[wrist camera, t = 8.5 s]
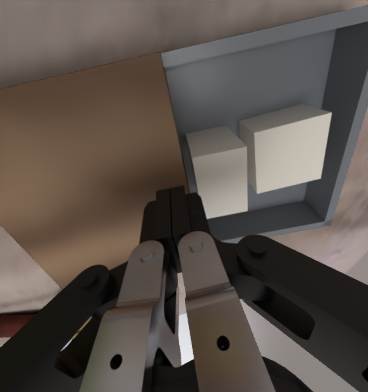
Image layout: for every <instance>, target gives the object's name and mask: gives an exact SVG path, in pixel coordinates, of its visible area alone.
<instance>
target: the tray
mask: <svg viewBox="0 0 368 392" xmlns="http://www.w3.org/2000/svg"><path fill="white" fill-rule="evenodd" d="M161 58H162V63H163V67H164V68H165V73H166V78H167V83H168V87H169V92H170V97H171V102H172V107H173V112H174V117H175V121H176V126H177V131H178V136H179V141H180V146H181V150H182V155H183V160H184V165H185V170H186V175H187V179H188V184H189V189H190V193H194V192H196V193H197V191H196V187H195V182H194V177H193V171H192V166H191V161H190V155H189V150H188V144H187V139H186V133H191V132H195V131H200V130H205V129H209V128H214V127H219V126H224V125H227V126H228V127H229V128H230V129H231V131H232V132H233V133H234V134H235V135H236V136H237V137H238V138H239V139H240V127H239V121H240V120H244V119H248V118H251V117H255V116H259V115H262V114H266V113H270V112H273V111H277V110H281V109H285V108H288V107H292V106H296V105H299V104H305V105H308V106H312V107H315V108H318V109H322V110H325V111H328V112H332V115H331V121H330V127H329V133H328V138H327V144H326V150H325V156H324V162H323V168H322V174H321V179H317V180H313V181H309V182H304V183H300V184H296V185H292V186H288V187H284V188H279V189H275V190H271V191H267V192H263V193H259V194H257V193H256V192H255V190H254V189H253V187H252V186H251V185H250V183H249V182H248V180H247V196H248V211H245V212H240V213H235V214H230V215H224V216H219V217H214V218H209V219H207V221H208V225H209V229H210V232H211V234H212V235H213V237H215V238H216V239H217V240H219V241H222V242H226V243H238V242H239V241H240V240H241V239H242V238H244V237H245V236H248V235H263V236H266V237H271V236H276V235H282V234H287V233H293V232H298V231H303V230H309V229H314V228H319V227H325V226H330V225H331V222H332V219H333V216H334V213H335V209H336V206H337V203H338V200H339V197H340V193H341V190H342V187H343V184H344V180H345V177H346V174H347V171H348V168H349V164H350V161H351V158H352V155H353V151H354V148H355V145H356V142H357V138H358V135H359V132H360V129H361V126H362V122H363V119H364V116H365V113H366V109H367V106H368V5H366V6H362V7H357V8H353V9H349V10H344V11H340V12H336V13H332V14H327V15H323V16H319V17H314V18H310V19H306V20H302V21H297V22H293V23H289V24H284V25H280V26H276V27H271V28H267V29H263V30H259V31H254V32H250V33H246V34H241V35H237V36H233V37H229V38H224V39H220V40H216V41H211V42H207V43H203V44H199V45H194V46H190V47H186V48H181V49H177V50H173V51H169V52H164V53H161ZM240 140H241V139H240Z"/></svg>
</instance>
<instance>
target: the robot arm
mask: <svg viewBox="0 0 368 392" xmlns="http://www.w3.org/2000/svg"><path fill="white" fill-rule="evenodd" d="M180 272H182V274H183V280H184V286H185V292H186V298H185V304H186V311H187V317H188V324H189V330H190V336H191V342H192V348H193V355H194V359H193V360H191V361H189V362H187V363H186V364H184V365H182V366H181V352H180V346H179V338H178V324H179V318H178V317H179V287H178V277H177V273H180ZM239 299H242V300H243V301H244V302H245V303H246V304H247V305H248V306H250V307H251V308H252V309H253V310H255V311H256V312H257V313H259V314H260V315H261V316H262V317H264V318H265V319H267V320H268V321H269V322H270V323H271V324H273V325H274V326H276V327H277V328H278V329H279V330H281V331H282V332H283V333H284V334H286V335H287V336H288V337H290V338H291V339H292V340H293V341H295V342H296V343H297V344H299V345H300V346H301V347H302V348H304V349H305V350H306V351H308V352H309V353H310V354H311V355H313V356H314V357H315V358H317V359H318V360H319V361H321V362H322V363H323V364H324V365H326V366H327V367H328V368H330V369H331V370H332V371H333V372H335V373H336V374H337V375H338V376H340V377H341V378H342V379H344V380H345V381H346V382H347V383H349V384H350V385H351V386H353V387H354V388H355V389H356V390H358V391H359V392H368V285H366V284H364V283H362V282H360V281H358V280H356V279H354V278H352V277H349V276H347V275H345V274H343V273H341V272H339V271H337V270H335V269H333V268H331V267H329V266H327V265H325V264H322V263H320V262H318V261H316V260H314V259H312V258H310V257H308V256H306V255H304V254H302V253H299V252H297V251H295V250H293V249H291V248H289V247H287V246H285V245H283V244H281V243H279V242H276V241H274V240H272V239H270V238H268V237H266V236H263V235H248V236H245V237H244V238H242V239H241V240H240V241H239V242H238V243H226V242H222V241H219V240H217V239H216V238H215V237H213V235H212V234H211V232H210V229H209V225H208V221H207V218H206V214H205V210H204V206H203V203H202V199H201V196H199V195H198V194H197V193H196V192H194V193H189V194H186V191H185V186H184V185H182V186H177V187H172V188H171V189H170V188H168V189H163V190H158V191H156V201H151V202H148V204H147V205H146V207H145V208H144V213H143V220H142V227H141V234H140V241H139V245H138V246H136V247H135V248H134V249H133V251H132V252H131V254H130V257H129V260H128V261H126V262H125V263H123V264H121V265H119V266H117V267H115V268H113V269H111V270H108V268H107V267H106V266H104V265H93V266H91V267H88V268H87V269H85V270H84V271H82V272H81V273H80V274H79V275H78V276H77V277H76V278H75V279H73V280H72V281H71V282H70V283H69V284H68V285H67V286H66V287H65V288H64V289H63V290H62V291H61V292H59V293H58V294H57V295H56V296H55V297H54V298H53V299H52V300H51V301H50V302H49V303H48V304H47V305H46V306H44V307H43V308H42V309H41V310H40V311H39V312H38V313H37V314H36V315H35V316H34V317H33V318H32V319H31V320H29V321H28V322H27V323H26V324H25V325H24V326H23V327H22V328H21V329H20V330H19V331H18V332H17V333H16V334H14V335H13V336H12V337H11V338H10V339H9V340H8V341H7V342H6V343H5V344H4V345H3V346H2V347H0V392H313V391H312V390H311V389H310V388H309V387H307V386H306V385H305V384H304V383H303V382H302V381H301V380H300V379H299V378H298V377H296V376H295V375H294V374H293V373H291V372H290V371H289V370H287V369H286V368H285V367H283V366H281V365H280V364H278V363H276V362H275V361H272V360H270V359H268V358H266V357H263V356H261V353H260V351H259V348H258V346H257V343H256V341H255V338H254V336H253V333H252V331H251V328H250V325H249V323H248V320H247V318H246V315H245V313H244V310H243V308H242V305H241V303H240V300H239ZM90 317H92V318H91V319H90V321H89V322H88V323H87V324H86V325H85V326H84V327H83V329H82V330H81V331H80V332H79V333H78V334H77V335H76V337H75V338H74V339H73V340H72V341H71V342H70V344H69V345H68V346H67V347H66V348H65V349H63V347H64V346H65V345H66V344H67V343H68V342H69V341H70V340H71V338H72V337H73V336H74V335H75V334H76V333H77V332H78V330H79V329H80V328H81V327H82V326H83V325H84V324H85V323H86V321H87V320H88V319H89V318H90ZM62 349H63V350H62ZM61 350H62V351H61Z"/></svg>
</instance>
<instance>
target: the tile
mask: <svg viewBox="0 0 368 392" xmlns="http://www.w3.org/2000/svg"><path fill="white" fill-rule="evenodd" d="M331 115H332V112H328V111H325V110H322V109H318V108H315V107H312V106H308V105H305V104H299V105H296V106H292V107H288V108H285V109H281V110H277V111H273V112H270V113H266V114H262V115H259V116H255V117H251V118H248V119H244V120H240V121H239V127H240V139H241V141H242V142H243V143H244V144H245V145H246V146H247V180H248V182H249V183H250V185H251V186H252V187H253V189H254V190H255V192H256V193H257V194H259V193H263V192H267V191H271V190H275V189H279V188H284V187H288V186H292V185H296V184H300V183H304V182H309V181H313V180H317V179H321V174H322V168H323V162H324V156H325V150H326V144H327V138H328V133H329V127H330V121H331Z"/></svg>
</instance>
